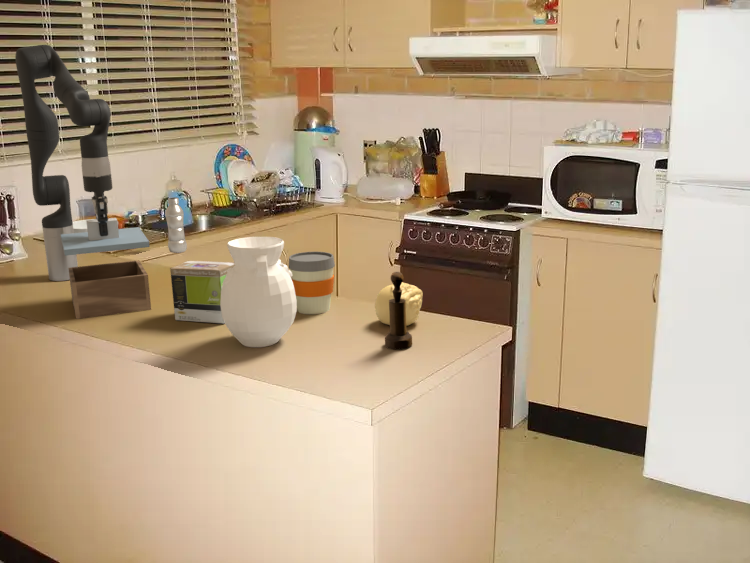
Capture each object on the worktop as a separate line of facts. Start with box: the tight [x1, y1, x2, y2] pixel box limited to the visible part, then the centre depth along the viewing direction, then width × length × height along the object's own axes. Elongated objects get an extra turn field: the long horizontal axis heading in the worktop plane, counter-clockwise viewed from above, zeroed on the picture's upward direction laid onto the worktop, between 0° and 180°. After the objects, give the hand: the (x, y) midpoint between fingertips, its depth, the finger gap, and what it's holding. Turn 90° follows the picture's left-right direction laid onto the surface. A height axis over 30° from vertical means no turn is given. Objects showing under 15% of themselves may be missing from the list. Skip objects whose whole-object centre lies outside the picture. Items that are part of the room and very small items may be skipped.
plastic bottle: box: [164, 196, 188, 254], centre depth 307 cm, size 6×7×20 cm
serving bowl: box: [72, 218, 97, 233], centre depth 335 cm, size 21×21×7 cm
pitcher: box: [220, 236, 298, 348], centre depth 206 cm, size 19×18×25 cm
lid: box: [61, 217, 150, 256], centre depth 239 cm, size 22×22×7 cm
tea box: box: [169, 260, 235, 324], centre depth 228 cm, size 15×10×15 cm, turn 71°
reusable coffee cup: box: [288, 251, 336, 315], centre depth 233 cm, size 13×13×15 cm
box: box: [68, 259, 152, 320], centre depth 243 cm, size 20×20×10 cm
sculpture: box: [374, 282, 424, 327], centre depth 219 cm, size 12×12×11 cm
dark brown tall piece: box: [384, 271, 413, 350], centre depth 201 cm, size 7×6×18 cm
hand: (103, 234), depth 239 cm, fingers closed on lid, 4 cm apart
